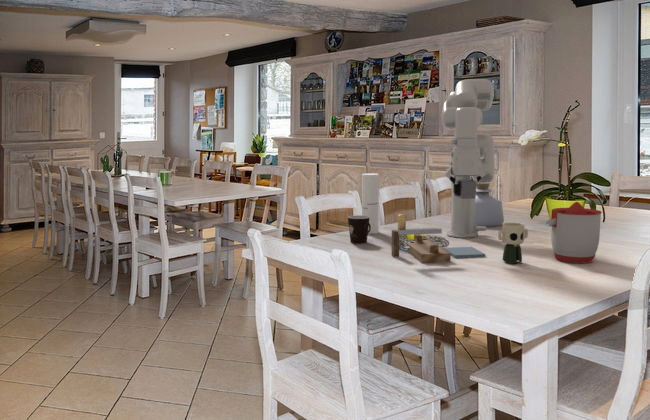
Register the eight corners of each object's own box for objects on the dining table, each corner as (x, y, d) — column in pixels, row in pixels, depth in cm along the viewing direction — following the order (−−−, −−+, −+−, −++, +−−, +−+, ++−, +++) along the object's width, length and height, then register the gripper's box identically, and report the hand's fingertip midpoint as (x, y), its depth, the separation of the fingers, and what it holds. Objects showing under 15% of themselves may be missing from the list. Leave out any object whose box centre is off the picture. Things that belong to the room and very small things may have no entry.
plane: (429, 247, 230) (429, 223, 229) (450, 262, 207) (451, 235, 206) (384, 249, 228) (384, 225, 227) (401, 263, 205) (401, 237, 203)
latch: (439, 232, 210) (439, 213, 209) (441, 233, 207) (442, 214, 206) (397, 233, 208) (397, 214, 207) (398, 234, 205) (399, 215, 204)
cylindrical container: (377, 234, 260) (377, 174, 256) (360, 233, 261) (360, 174, 258) (379, 231, 267) (379, 173, 263) (363, 230, 268) (363, 173, 264)
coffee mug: (346, 240, 246) (346, 215, 245) (367, 239, 247) (367, 215, 246) (350, 246, 235) (350, 220, 234) (372, 245, 236) (372, 219, 234)
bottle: (503, 221, 291) (504, 181, 288) (505, 228, 272) (506, 185, 269) (459, 219, 295) (460, 180, 293) (458, 226, 276) (459, 184, 274)
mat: (471, 249, 227) (471, 246, 227) (485, 256, 214) (485, 254, 214) (442, 250, 225) (442, 247, 225) (454, 258, 213) (455, 255, 213)
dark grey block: (467, 195, 221) (467, 179, 220) (475, 198, 213) (476, 181, 212) (453, 196, 221) (454, 179, 220) (461, 198, 213) (462, 181, 212)
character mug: (503, 266, 201) (504, 226, 199) (492, 261, 207) (493, 223, 206) (532, 263, 204) (534, 224, 202) (520, 259, 210) (521, 221, 209)
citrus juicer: (539, 254, 217) (541, 198, 214) (590, 255, 215) (593, 198, 212) (550, 265, 201) (553, 204, 199) (605, 265, 200) (609, 204, 197)
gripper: (445, 144, 209) (444, 197, 212) (493, 143, 212) (491, 195, 214) (438, 143, 217) (437, 194, 219) (485, 142, 219) (483, 193, 222)
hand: (464, 194), depth 217 cm, fingers closed on dark grey block, 5 cm apart
